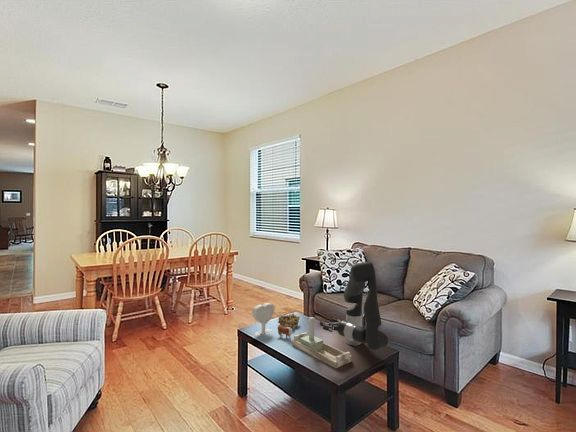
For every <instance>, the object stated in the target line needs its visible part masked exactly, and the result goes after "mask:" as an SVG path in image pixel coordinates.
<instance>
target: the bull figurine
mask: <svg viewBox="0 0 576 432" xmlns="http://www.w3.org/2000/svg"><path fill="white" fill-rule="evenodd" d="M294 330H295V328H294V329H293V328H290V327H285V326H282V325H280V324H279V325H278V326H277V333H278V335H279V338H280V339H283V338H282V337H283V335H285V339H287V338H288V337H289V339H291V338H292V337H291V335H292V334H293V331H294Z"/></svg>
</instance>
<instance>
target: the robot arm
mask: <svg viewBox="0 0 576 432" xmlns="http://www.w3.org/2000/svg"><path fill="white" fill-rule="evenodd" d="M366 282H368V284H369V286H368V287H369V290H368V293H367V296H366V299H365V301H364V304H363V296H364V290H365V288H366ZM377 287H378V286H377V276H376V269H375V267H374V264H373V262H371V261H364V262H356V263H353V264H352V265H351V267H350V275H349V279H348V281H347V285H346V287H345V289H344V290H343V291H344V292H343V297H344V301H345V302H346V303H349V304H354V305H352V306H350V307H347V308H346V309H345V310H346V311H345V319H342V318H341V319H339V318H338V319H336V318H334V317H333V318H330V320H331V321H330V322H325V321H323V320H321V321H319V326H321V327H322V330H325V331H327V332H329V333H333V331H334V332H335V331H336V332H337V333H338V335H340V336H341V337H343V338H345V343H346V344H347V345H350V346H361V344H366V345H367V347H368V348H369V349H370V350H371V351H377V350H381V349H384V348H386V347H387V346H388V344H389V338H388V335H387V334H385V333H384V332H383V331H381V330H379V327H381V326H382V319H381V313H380V308H379V307H380V306H379V302H378V288H377ZM363 315H364V319H365V324H366V325H365V327H363Z"/></svg>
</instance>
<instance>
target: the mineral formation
mask: <svg viewBox="0 0 576 432" xmlns="http://www.w3.org/2000/svg"><path fill="white" fill-rule="evenodd" d="M300 318H301V317H300V316H297V315H295V313H293V312H292V313H289V314H288V315H287V314H284V315H283V314H282V315H280V316H278V318H277V319H278V321H277V323H278V324H279V325H281V326H284V327H290V328H292V329H294V330H295V329H296V327H297V326H298V325H299V322H300Z"/></svg>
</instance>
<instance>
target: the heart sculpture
mask: <svg viewBox="0 0 576 432" xmlns="http://www.w3.org/2000/svg"><path fill="white" fill-rule="evenodd" d="M251 313H252V317H253V319H254V320H255V321H256V322H258V323H260V324H261V330H259V331H257V332H254V333H255V334H254V333H253V335H255V336H258V335H259V336H261V335H260V334H262V335H265V334H268V333H272V332H273V329H271V330H270V328H266V325H267V324H268V322H270V321H271V319H272V318H273V316H274V314H275V305H274V304H272V303H269V302H266V303H265V302H264V303H263V304H257V305H255V306H254V307H253V308H252V311H251ZM271 331H272V332H271ZM267 332H268V333H267ZM264 333H265V334H264ZM257 334H258V335H257Z"/></svg>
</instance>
